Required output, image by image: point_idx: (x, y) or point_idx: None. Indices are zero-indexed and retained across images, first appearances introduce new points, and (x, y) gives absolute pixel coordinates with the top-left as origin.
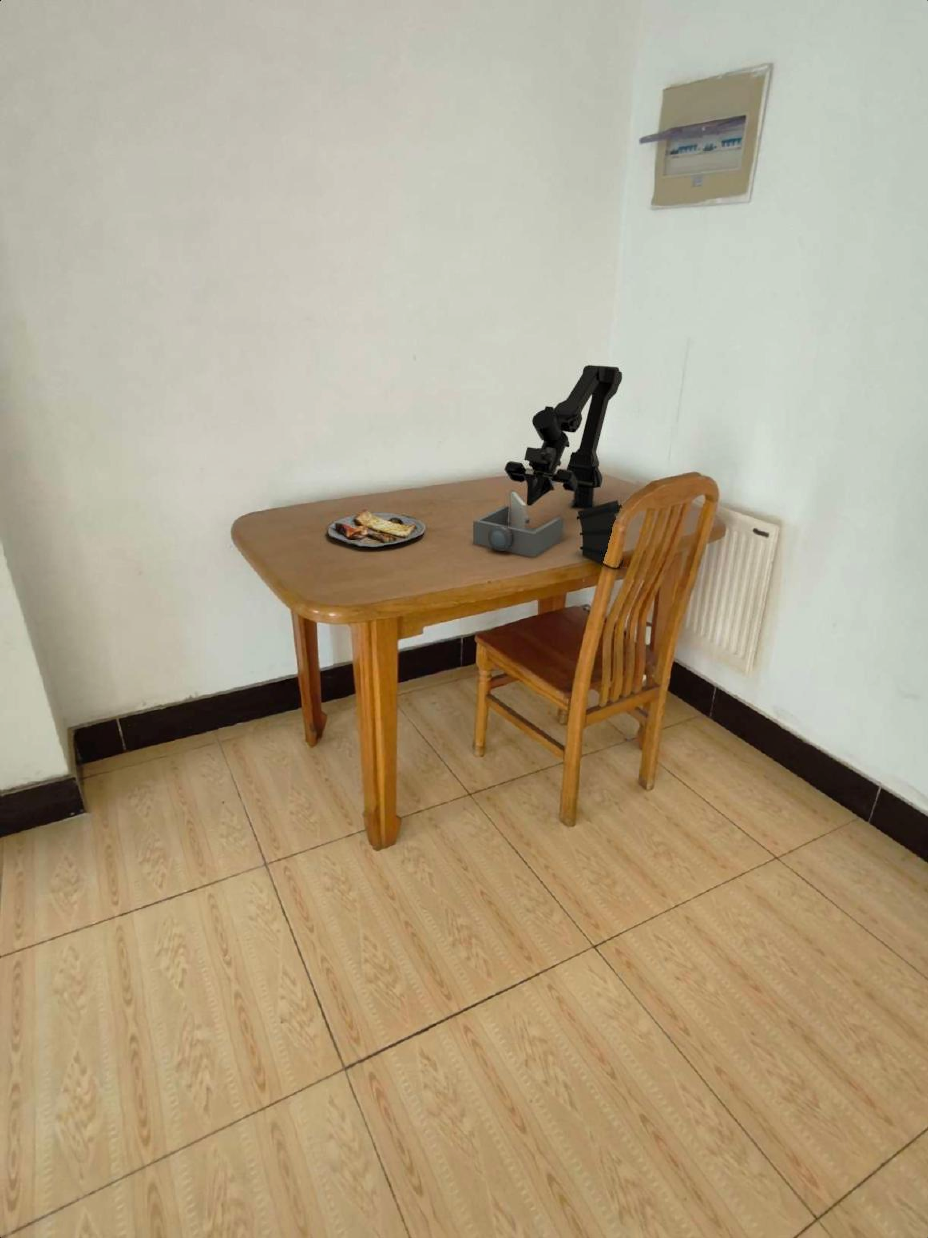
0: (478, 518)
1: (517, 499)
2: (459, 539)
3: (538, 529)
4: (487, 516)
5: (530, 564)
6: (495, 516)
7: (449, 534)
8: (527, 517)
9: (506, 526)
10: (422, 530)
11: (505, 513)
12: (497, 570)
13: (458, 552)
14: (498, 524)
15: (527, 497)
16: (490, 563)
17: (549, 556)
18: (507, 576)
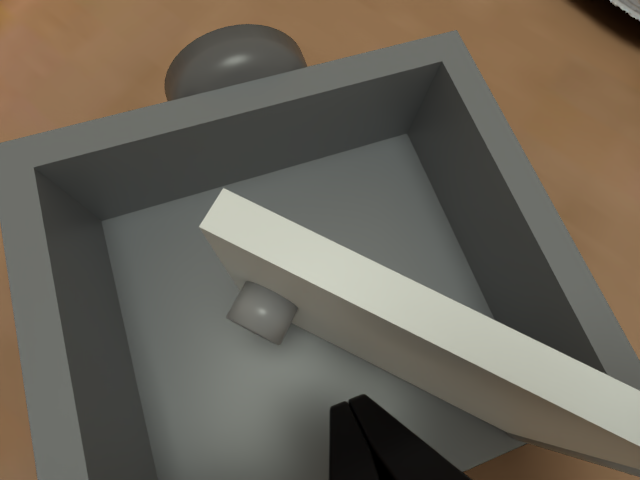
0: (478, 74)
1: (423, 285)
2: None
3: (27, 230)
4: (484, 139)
5: None
6: (518, 244)
7: (574, 113)
8: (242, 306)
9: (215, 79)
10: (622, 2)
11: None
12: (99, 13)
13: (359, 20)
14: (305, 92)
15: (405, 435)
16: (176, 36)
17: None
18: (23, 3)
